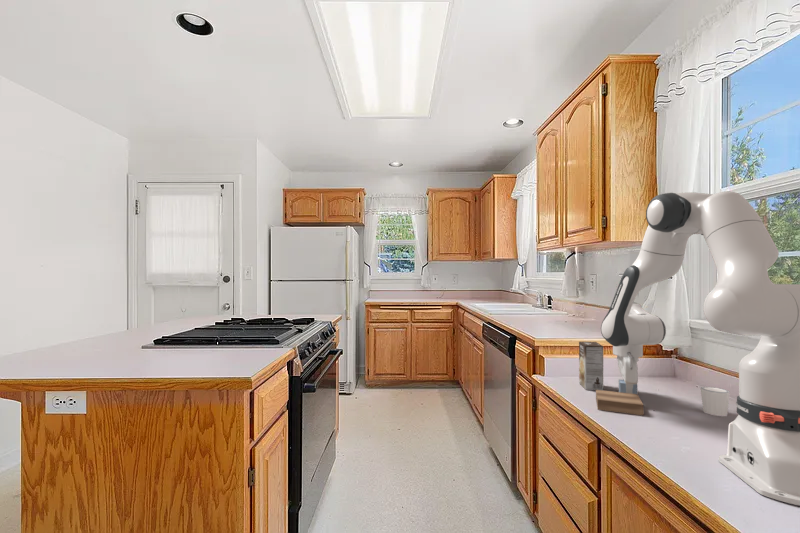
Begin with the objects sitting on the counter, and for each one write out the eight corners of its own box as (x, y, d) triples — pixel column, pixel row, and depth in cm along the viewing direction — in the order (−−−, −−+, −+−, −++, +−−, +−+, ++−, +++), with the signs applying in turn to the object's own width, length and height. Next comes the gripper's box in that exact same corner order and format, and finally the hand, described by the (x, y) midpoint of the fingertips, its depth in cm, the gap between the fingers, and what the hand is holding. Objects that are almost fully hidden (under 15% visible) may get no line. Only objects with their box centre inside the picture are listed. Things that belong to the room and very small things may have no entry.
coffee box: (578, 383, 150) (578, 341, 151) (596, 384, 149) (596, 341, 149) (585, 390, 141) (585, 345, 142) (604, 391, 140) (604, 345, 140)
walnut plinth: (643, 415, 115) (643, 405, 115) (597, 409, 120) (597, 399, 120) (637, 403, 126) (637, 394, 126) (595, 398, 131) (595, 389, 131)
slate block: (637, 399, 130) (637, 384, 130) (620, 397, 132) (620, 382, 132) (635, 395, 135) (635, 381, 135) (618, 394, 137) (618, 379, 137)
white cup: (735, 417, 114) (735, 393, 114) (708, 415, 115) (708, 391, 115) (721, 410, 121) (721, 387, 121) (696, 408, 122) (695, 385, 122)
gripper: (643, 356, 123) (643, 401, 123) (634, 346, 142) (634, 384, 141) (620, 354, 126) (620, 398, 125) (614, 344, 144) (614, 382, 144)
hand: (627, 391), depth 133 cm, fingers closed on slate block, 5 cm apart
